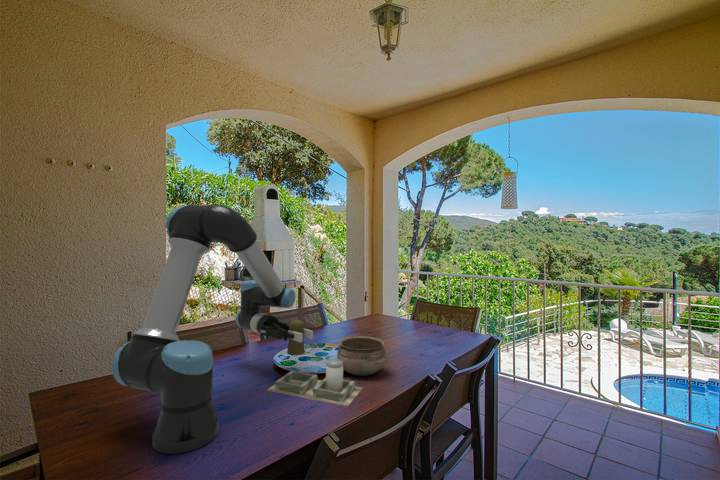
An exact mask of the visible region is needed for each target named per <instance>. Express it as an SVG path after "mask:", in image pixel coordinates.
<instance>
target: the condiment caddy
mask: <svg viewBox="0 0 720 480" xmlns="http://www.w3.org/2000/svg"><path fill="white" fill-rule="evenodd" d="M362 389H363V387H360V386H356V381H355V380H349V379H344V378H343V390H342V391H341V392H338V391H333V390H327V389H326V377H324V379H322V380H320V379H318V374H314V373H309V372H308V373H307V372H302V371H295V370H290V371H289V372H287V373H286V374H285V375H283V376H282V377H281V378H279V379H277V380H275V382H274V384H273V385H272V386H270V387H268V388H267V389H266V390H265V394H266V395H267V394H268V393H269V392H273V393H278V394H283V395H287V396H291V397H292V396H293V397H298V398H303V399H307V400H313V401H318V402H323V403H326V404H327V403H328V404H333V405H337V406H343V407H347V408H348V407H349V405H350V404H351V403H352V402H353V401H354V400H355V398H356V397H357V396H358V395H359V393H360V392H361V391H362Z"/></svg>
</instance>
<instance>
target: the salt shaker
mask: <svg viewBox="0 0 720 480" xmlns="http://www.w3.org/2000/svg"><path fill="white" fill-rule="evenodd" d="M325 368H326V370H325V378H326V389H327V390H333V391H338V392H341V391H342V390H343V379H344V369H343V361H342V360H340V359H337V358H331V359H328V360H327V361H326V365H325Z"/></svg>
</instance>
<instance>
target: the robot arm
mask: <svg viewBox="0 0 720 480" xmlns="http://www.w3.org/2000/svg"><path fill="white" fill-rule="evenodd" d="M165 220H166V221H165V228H166V230H165V231H166V235H168V239H167V243H169V246H170V251H169V253H168V255H167V258H166V261H165V264H164V267H163V270H162V271H161V272H162V273H161V275H160V278H159V280H158V283H157V286H156V289H155V291H154V295H153V297H152V300H151V302H150V305H149V307H148V311H147V313H146V316H145V319H144V322H143V324H142V326H141V328H140V329H138V330H136V331H134V332H133V333H132V336H131V338H130V341H127V342H125V343H124V344H122V346H121V347H119V348H118V349H117V350H116V352H115V353H114V355H113V357H112V361H111V373H112V376H113V377H114V379H115V381H116V382H117V383H119V384H120V385H122V386H125V387H127V388H129V389H132V390H133V389H134V390H135V389H136V390H142V391H147V392H152V393H156V394H157V393H158V394H161V395H160V396H161V402H160V413H159V415H158V419H157V421H156V427H155V428H154V430H153V432H152V439H151V446H152V448H153V449H154V450H155V451H156V452H158V453H161V454H166V455H167V454H168V455H174V454H175V455H177V454H183V453H188V452H191V451H194V450H197V449H199V448H202V447H204V446H206V445H208V444H209V443H210V442H211V441H213V440H214V439H215V438H216V437H217V435H218V433H219V418H218V417H217V415H216V411H215V407H214V405H213V401H212V400H213V397H212V395H213V372H214V371H213V370H214V369H213V368H214V359H213V350H212V348H211V346H210V345H208V344H207V343H206V342H202V341H199V340H192V339H191V340H186V339H184V340H183V339H182V340H180V338H179V336H178V335H177V331H178V328H179V324H180V323H181V319H182V316H183V313H184V309H185V307H186V304H187V300H188V298H189V295H190V292H191V289H192V286H193V282H194V279H195V276H196V273H197V270H198V267H199V264H200V261H201V258H202V256H203V255H204V254H206V253H208V252H209V250H210V247H211V244H212V243H219V244H222V245H223V246H226V247H227V248H228V250H229V251H230V252H232V253H235V254H236V255H237V257H238V258H239V260H240V262H241V263H242V264H243V265H244V267H245V269H246V270H247V272H248V273H249V274H250V276H251V277H252V278H253V279H251V280H244V281H243V282H242V283H241V288H240V310H239V311H238V312H237V313H236V315H235V318H234V320H235V321H234V322H235V324H236V325H237V326H238V327H239V328H241V329H243V330H246V331H250V332H253V333H256V334H258V335H259V336H265V337H269V338H270V337H271V338H274V339H277V340H282V339H283V341H288V340H289V339H291V340H294V341H298V342H303V340H304V338H305V339H309V340H314V330H310V329H307V328H305V325H304V329H303V334H302V333H298V332H295V331H291V330H290V329H289V323H290V322H291V321H292V320H291V321H288V322H283V321H280V320H279V319H278V318H277V317H276V316H274V315H270V314H267V313H264V312H261V308H262V307H270V308H271V307H272V308H280V309H290V308H292V307H293V306H294V304H295V301H296V298H297V297H296V291H295V290H294V289H293V288H289V287H285V285H284V284H283V282H282V281H281V278H280V277H279V275H278V274H277V272H276V271H275V269H274V267H273V266H272V264H271V262H270V261H269V259H268V257H267V256H266V254H265V253H264V250H263V249H262V247H261V246H260V244H259V242H258V241H257V240H258V236H257V235H258V234H257V233H256V231H255V229H254V228H253V227H252V225H251V224H250V223H249V222H248V220H247V219H246V218H245V217H243V216H242V215H241V214H240V213H238V211H236V209H235V210H234V209H233V208H231V207H229V206H226V205H223V204H186V205H180V206H178V207H176V208H174V209H173V210H172V211H170V212H169V214H168V215H167V218H166V219H165Z"/></svg>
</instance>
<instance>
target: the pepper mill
mask: <svg viewBox="0 0 720 480" xmlns="http://www.w3.org/2000/svg"><path fill="white" fill-rule="evenodd" d="M304 326H305V322H304V321H303V320H300V319H294V320H291V322H290V323H289V329H290V330H291V331H295V332H298V333H302V334H303V329H304ZM304 341H305V339H303V342H298V341H294V340H291V339H288V344H287V352H286V354H287V355H289V356H301V355H304V354H305V353H306V351H305V343H304Z"/></svg>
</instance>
